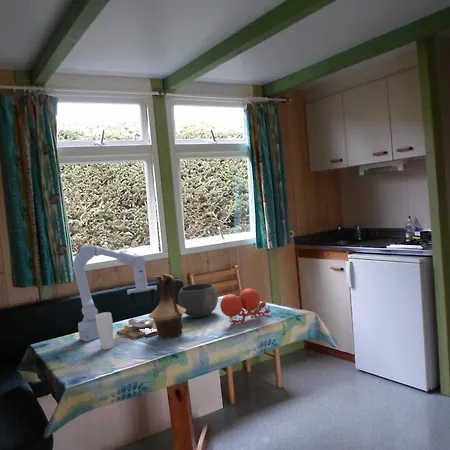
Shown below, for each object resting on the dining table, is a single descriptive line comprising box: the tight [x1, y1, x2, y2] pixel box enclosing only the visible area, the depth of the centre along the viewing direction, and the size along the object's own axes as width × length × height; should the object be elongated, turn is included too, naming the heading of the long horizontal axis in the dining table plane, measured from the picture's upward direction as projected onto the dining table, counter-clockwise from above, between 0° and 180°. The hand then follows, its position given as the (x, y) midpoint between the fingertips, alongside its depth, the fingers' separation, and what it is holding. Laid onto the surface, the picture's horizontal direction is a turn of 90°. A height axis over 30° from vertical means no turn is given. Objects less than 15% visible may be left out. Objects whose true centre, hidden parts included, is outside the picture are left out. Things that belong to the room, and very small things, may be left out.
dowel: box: [123, 325, 129, 333], centre depth 216 cm, size 2×2×3 cm
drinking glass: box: [95, 311, 115, 351], centre depth 200 cm, size 7×7×15 cm
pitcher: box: [148, 273, 186, 339], centre depth 207 cm, size 18×17×28 cm
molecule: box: [219, 287, 272, 325], centre depth 216 cm, size 25×11×15 cm, turn 127°
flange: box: [128, 318, 153, 329], centre depth 223 cm, size 15×9×2 cm, turn 47°
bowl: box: [177, 283, 219, 318], centre depth 234 cm, size 20×20×15 cm
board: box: [116, 319, 157, 340], centre depth 221 cm, size 20×17×2 cm
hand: (144, 306), depth 229 cm, fingers open, 7 cm apart
